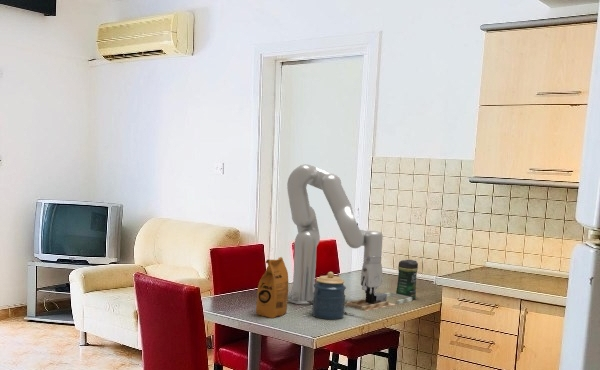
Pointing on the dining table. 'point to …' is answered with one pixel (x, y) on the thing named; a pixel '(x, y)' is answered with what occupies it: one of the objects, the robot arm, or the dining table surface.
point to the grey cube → (384, 296)
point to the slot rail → (367, 307)
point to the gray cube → (377, 298)
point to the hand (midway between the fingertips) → (369, 302)
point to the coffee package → (273, 290)
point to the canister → (329, 297)
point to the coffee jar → (407, 278)
